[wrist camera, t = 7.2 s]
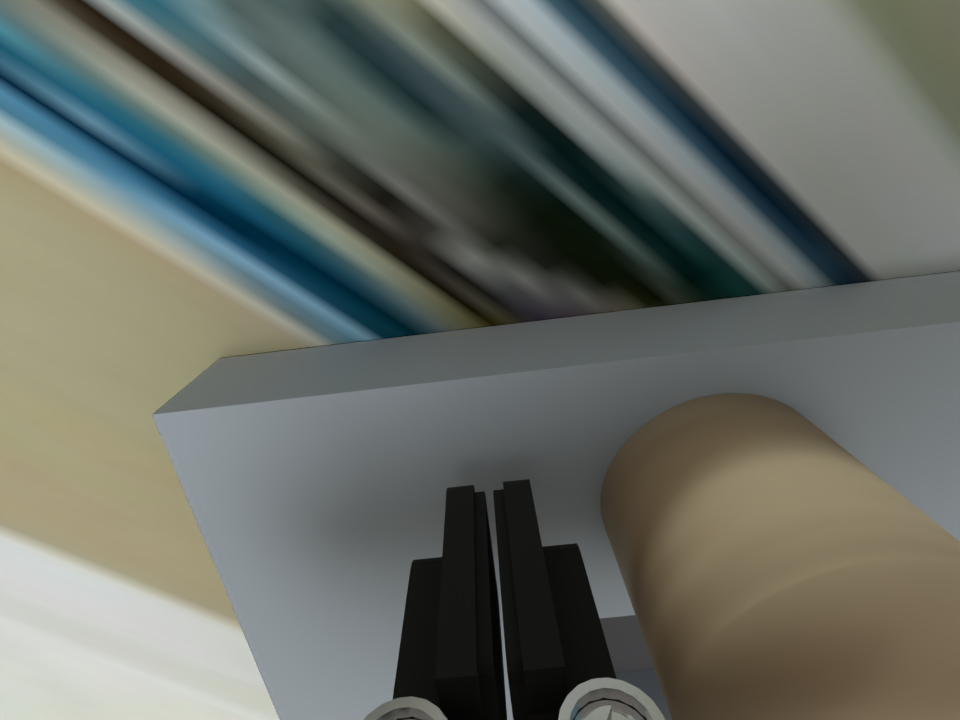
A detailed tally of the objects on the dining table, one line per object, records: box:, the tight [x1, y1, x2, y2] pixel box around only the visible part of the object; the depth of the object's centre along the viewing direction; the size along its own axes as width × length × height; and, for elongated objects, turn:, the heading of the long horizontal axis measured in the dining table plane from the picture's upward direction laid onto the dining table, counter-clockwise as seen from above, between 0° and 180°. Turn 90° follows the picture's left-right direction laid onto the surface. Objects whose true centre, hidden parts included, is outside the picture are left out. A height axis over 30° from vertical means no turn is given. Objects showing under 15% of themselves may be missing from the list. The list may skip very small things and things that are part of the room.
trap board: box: [152, 271, 960, 720], centre depth 13 cm, size 14×33×6 cm, turn 97°
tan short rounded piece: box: [600, 393, 960, 720], centre depth 9 cm, size 5×5×4 cm
